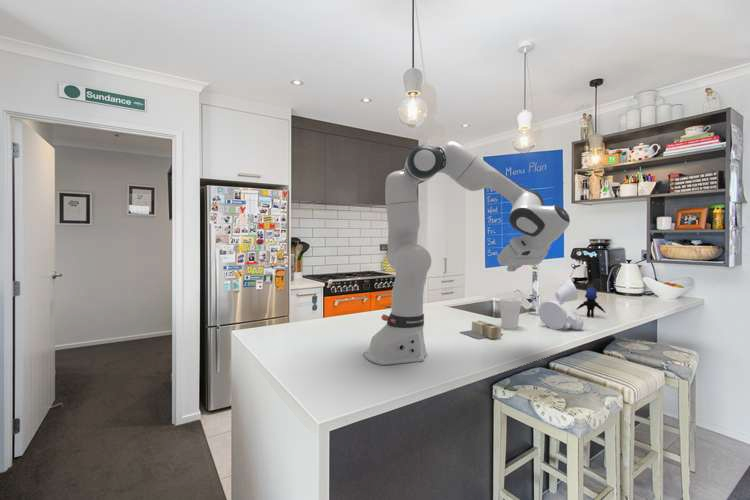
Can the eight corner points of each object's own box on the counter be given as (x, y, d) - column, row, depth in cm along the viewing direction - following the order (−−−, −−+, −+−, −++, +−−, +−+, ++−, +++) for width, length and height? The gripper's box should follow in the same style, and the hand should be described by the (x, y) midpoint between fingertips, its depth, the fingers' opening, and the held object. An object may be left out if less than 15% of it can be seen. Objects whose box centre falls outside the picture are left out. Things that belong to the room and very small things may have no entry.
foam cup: (522, 331, 164) (523, 301, 163) (500, 329, 166) (500, 300, 165) (518, 325, 173) (519, 297, 173) (497, 324, 175) (498, 296, 175)
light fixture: (607, 304, 162) (572, 275, 172) (589, 316, 153) (553, 285, 163) (575, 338, 178) (545, 310, 188) (556, 350, 170) (526, 320, 180)
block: (493, 327, 150) (471, 321, 160) (492, 339, 150) (471, 331, 161) (501, 326, 152) (479, 320, 163) (500, 337, 152) (479, 330, 163)
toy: (605, 317, 192) (606, 288, 191) (605, 319, 187) (606, 289, 186) (576, 314, 199) (577, 285, 198) (575, 316, 194) (576, 287, 193)
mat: (477, 339, 151) (477, 338, 151) (459, 332, 160) (459, 332, 160) (503, 335, 157) (503, 334, 157) (483, 328, 167) (483, 328, 167)
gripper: (547, 239, 140) (524, 263, 149) (507, 238, 130) (486, 264, 139) (557, 251, 136) (533, 275, 145) (517, 252, 126) (495, 277, 135)
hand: (510, 270), depth 142 cm, fingers closed
